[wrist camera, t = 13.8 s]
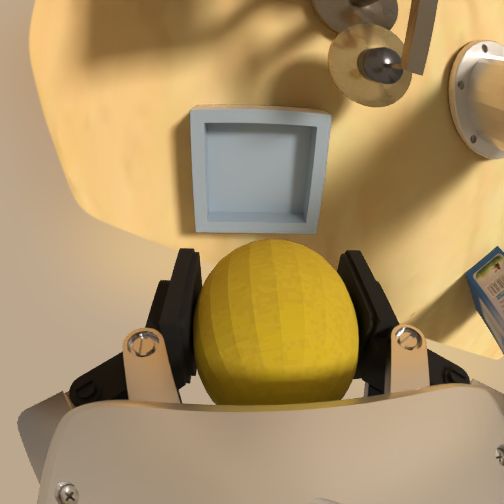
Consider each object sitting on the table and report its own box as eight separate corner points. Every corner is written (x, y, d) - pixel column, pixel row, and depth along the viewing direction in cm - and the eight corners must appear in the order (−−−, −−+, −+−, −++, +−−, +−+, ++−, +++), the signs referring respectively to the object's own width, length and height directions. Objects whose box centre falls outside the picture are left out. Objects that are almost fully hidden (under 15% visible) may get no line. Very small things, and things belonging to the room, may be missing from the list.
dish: (322, 109, 22) (331, 115, 20) (310, 218, 28) (316, 234, 25) (196, 105, 22) (190, 109, 19) (200, 216, 27) (195, 232, 25)
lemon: (271, 320, 16) (285, 469, 9) (180, 267, 14) (145, 436, 7) (352, 252, 13) (420, 409, 7) (260, 175, 11) (285, 352, 5)
